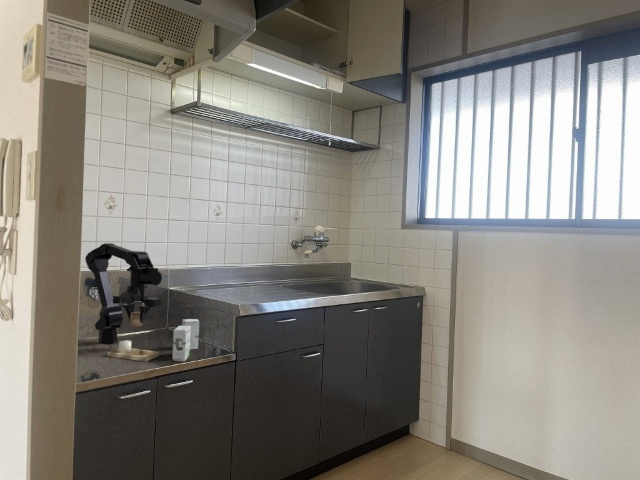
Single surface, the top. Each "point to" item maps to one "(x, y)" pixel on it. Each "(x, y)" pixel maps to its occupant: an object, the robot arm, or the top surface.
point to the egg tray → (135, 354)
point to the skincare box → (192, 331)
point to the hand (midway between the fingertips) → (136, 322)
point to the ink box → (181, 343)
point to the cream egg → (125, 347)
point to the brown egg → (135, 319)
